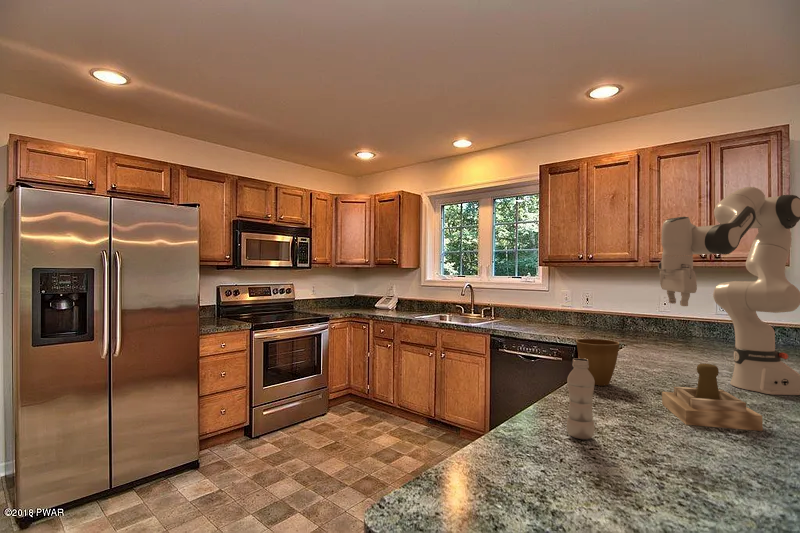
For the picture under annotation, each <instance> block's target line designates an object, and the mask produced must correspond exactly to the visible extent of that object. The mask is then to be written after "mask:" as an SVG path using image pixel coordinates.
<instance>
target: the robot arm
mask: <svg viewBox="0 0 800 533" xmlns="http://www.w3.org/2000/svg"><path fill="white" fill-rule="evenodd" d="M713 215H714V218H715V220H716V222H717V223H718V224H713V225H702V226H697V225H694V224H693V223H692V222H691V219H690V217H689V216H677V217H672V218H668V219H666V220H664V221H663V223H662V227H661V237H660V238H661V242H660V243H661V246H662V253H661V261H660V262H659V263H658V264H657V268H658V270H659V284H660V286H661V290H663V291H666V294H667V298H668V303H669V304H674V305H675V304H676V303H677V298H676V295H675V294H676V293H680V296H681V300H679V305H680V306H681V307H688V306H689V300H690V297H691V294H696V293H697V289H698V286H697V285H698V284H697V275H696V271H695V270H694V256H693V255H730V254H731V253H733V252H734V251H735V250H736V249H737V248H738V246H740V243H741V240H742V238H744V236H745V235H746V233H747V232H748V231H749V230H750V229H757V231H758V232H757V234H756V236H755V238H754V239H753V241H752V244H751V246H750V249H749V252H748V255H747V258H746V261H745V268H746V270H747V271H748V272H749V273H750V274H751V275H753V276H755V277H757V279H756V280H753V281H749V280H747V281H744V280H739V281H738V280H733V281H726V282H720V283H718V284H717V285H716V286H715V288H714V290H713V294H712V295H713V296H712V297H713V300H714V301H715V303H716V305H717V306H719V307H720V308H722V309H723V311H725V312H726V313H727V315H728V317H729V318H730V319H731V321H732V322H731V323H732V324H733V328H734V336H735V337H734V339H735V340H734V341H735V342H734V343H735V346H734V347H733V361H734V366H733V367H734V368H733V373H732V376H731V380H730V382H729V384H730V385H731V386H733V387H736V388H738V389H739V388H740V389H743V390H746V391H753V392H758V393H762V394H766V395H773V396H774V395H778V396H779V395H780V396H782V395H784V396H785V395H786V396H800V373H799V372H797V371H796V370H795V369H793V368H792V367H790V366H788V365H787V364H786V363H785V362H783V361H782V359H783V360H787V359H789V354H787V353H785V352H779V351H777V350H776V332H775V330H774V328H773V326H771V325H770V324H769V323H767V322H765V321H763V320H762V319H761V318H760V317H759V316H758V314H757V312H762V313H774V314H778V313H791V312H794V311H796V310H797V309H798V308H799V307H800V290H799V289H798V288H797V286H795V285H794V284H792V283H791V282H790V281H789V280H788V279H787V277H786V271H785V270H786V266H787V265H786V264H787V262H788V257H789V255H790V252H791V247H792V246H791V245H792V232H791V229H793V228H794V227H795V226H796V225H797V223H799V221H800V197H799V196H798V195H797V194H795V195H794V194H782V195H779V196H778V195H777V196H770V197H769V196H768V197H766V195H765V193H764V192H763V191H762V190H761V189H760V188H757V187H754V186H747V187H743V188H739V189H738V190H736V191H733V192H732V193H730V194H728V195H727V196H725V197H724V198H722V199H721V200H720V201H719V202H718V203H717V204H716V205H715V207H714V210H713Z"/></svg>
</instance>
